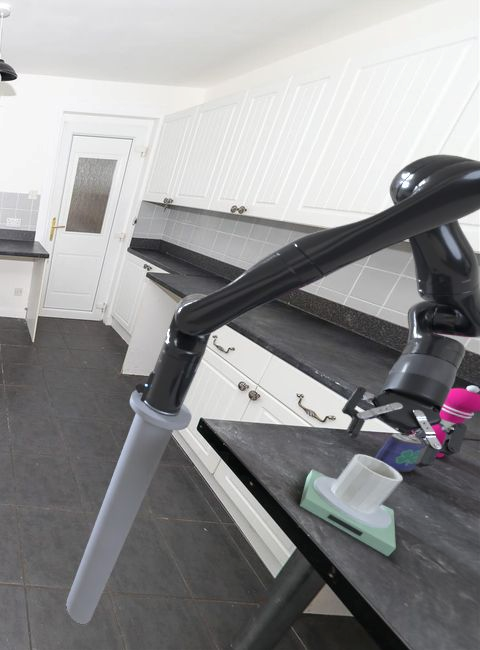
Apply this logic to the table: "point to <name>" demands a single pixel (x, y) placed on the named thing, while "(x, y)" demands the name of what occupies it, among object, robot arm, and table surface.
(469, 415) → the pepper mill
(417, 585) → the table surface
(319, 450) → the table surface
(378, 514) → the scale
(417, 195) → the robot arm
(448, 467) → the table surface
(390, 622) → the table surface
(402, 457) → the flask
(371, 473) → the cup
